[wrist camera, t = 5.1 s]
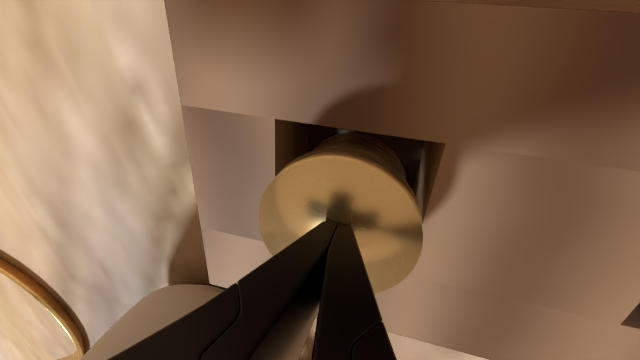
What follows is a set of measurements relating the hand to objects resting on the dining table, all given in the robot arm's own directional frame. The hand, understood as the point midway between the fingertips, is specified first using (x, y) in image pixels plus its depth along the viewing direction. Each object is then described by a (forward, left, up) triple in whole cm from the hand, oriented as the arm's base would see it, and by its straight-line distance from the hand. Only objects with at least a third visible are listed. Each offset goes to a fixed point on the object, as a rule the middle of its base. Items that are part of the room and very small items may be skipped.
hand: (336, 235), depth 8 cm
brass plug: (0, 0, -3) cm, 3 cm away
